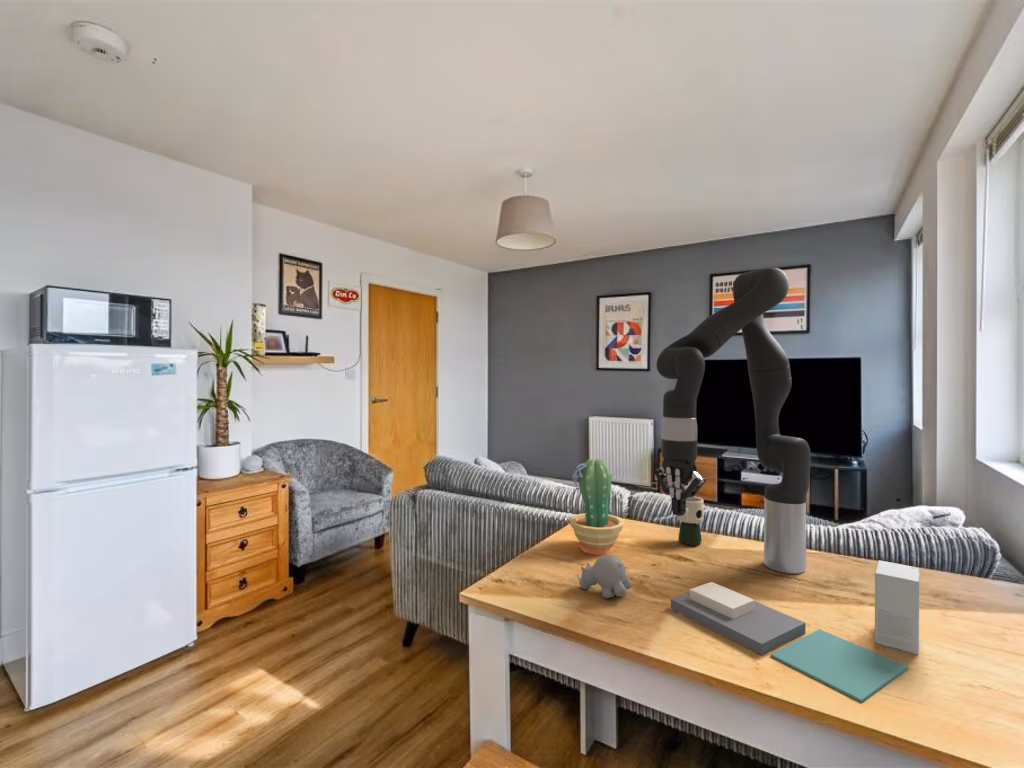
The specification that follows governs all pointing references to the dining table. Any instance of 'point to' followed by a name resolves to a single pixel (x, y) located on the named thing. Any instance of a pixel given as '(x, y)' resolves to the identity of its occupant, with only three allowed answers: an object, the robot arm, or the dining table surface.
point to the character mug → (691, 521)
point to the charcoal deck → (745, 624)
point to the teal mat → (840, 664)
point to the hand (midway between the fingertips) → (678, 514)
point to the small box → (897, 606)
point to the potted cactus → (595, 509)
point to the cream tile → (722, 600)
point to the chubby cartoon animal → (606, 576)
